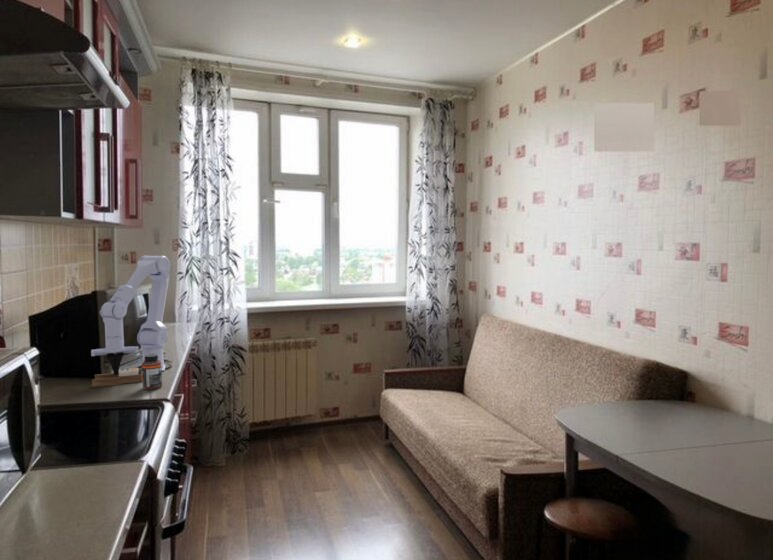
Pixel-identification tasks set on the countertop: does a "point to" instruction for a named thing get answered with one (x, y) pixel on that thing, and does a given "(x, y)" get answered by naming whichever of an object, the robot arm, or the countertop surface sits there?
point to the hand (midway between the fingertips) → (116, 374)
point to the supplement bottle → (151, 372)
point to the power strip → (128, 372)
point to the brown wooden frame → (115, 379)
